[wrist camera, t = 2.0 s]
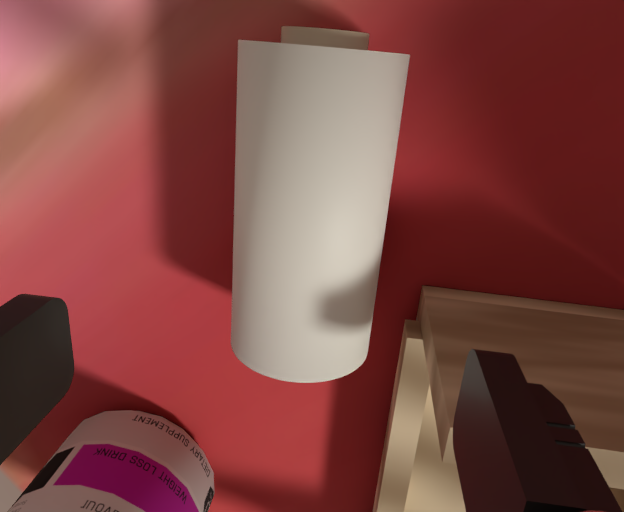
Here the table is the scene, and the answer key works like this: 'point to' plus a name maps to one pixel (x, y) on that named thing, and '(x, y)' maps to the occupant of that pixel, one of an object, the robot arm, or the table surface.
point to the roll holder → (535, 366)
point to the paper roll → (311, 198)
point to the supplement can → (123, 469)
